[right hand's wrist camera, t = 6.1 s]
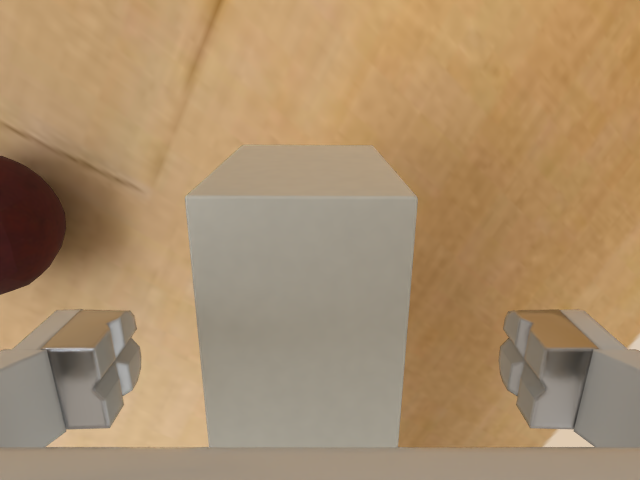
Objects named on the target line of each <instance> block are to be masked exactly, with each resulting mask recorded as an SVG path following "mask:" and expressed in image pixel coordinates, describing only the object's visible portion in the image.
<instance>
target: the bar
mask: <svg viewBox="0 0 640 480" xmlns="http://www.w3.org/2000/svg"><path fill="white" fill-rule="evenodd" d="M417 203H418V198H417V196H416V195H415V194H414V193H413V191H412V190H411V189H410V188H409V187H408V186H407V185H406V183H405V182H404V181H403V180H402V179H401V178H400V176H399V175H398V174H397V173H396V172H395V171H394V169H393V168H392V167H391V166H390V165H389V164H388V163H387V161H386V160H385V159H384V158H383V157H382V156H381V154H380V153H379V152H378V151H377V150H376V149H375V148H374V146H372V145H242V146H241V147H240V148H238V149H237V150H236V151H235V152H234V153H233V154H232V155H231V156H230V157H228V158H227V159H226V160H225V161H224V162H223V163H222V164H221V165H220V166H218V167H217V168H216V169H215V170H214V171H213V172H212V173H211V174H210V175H208V176H207V177H206V178H205V179H204V180H203V181H202V182H201V183H200V184H198V185H197V186H196V187H195V188H194V189H193V190H192V191H191V192H190V193H188V194H187V195H186V197H185V204H186V214H187V224H188V235H189V245H190V255H191V266H192V276H193V286H194V297H195V307H196V317H197V328H198V338H199V348H200V358H201V369H202V379H203V389H204V400H205V410H206V420H207V431H208V441H209V447H398V440H399V427H400V415H401V403H402V390H403V378H404V365H405V353H406V340H407V328H408V315H409V303H410V290H411V278H412V266H413V253H414V241H415V228H416V216H417Z"/></svg>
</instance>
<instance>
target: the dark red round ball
mask: <svg viewBox="0 0 640 480" xmlns="http://www.w3.org/2000/svg"><path fill="white" fill-rule="evenodd" d="M65 230H66V221H65V213H64V210H63V208H62V206H61V203H60V201H59V199H58V197H57V196H56V194H55V193H54V192H53V190H52V189H51V187H50V186H49V185H48V184H47V183H46V182H45V181H44V180H43V179H42V178H41V177H40V176H39V175H37V174H36V173H35V172H33V171H32V170H30V169H29V168H28V167H26V166H24V165H22V164H20V163H18V162H16V161H13V160H11V159H8V158H6V157H3V156H0V294H3V293H7V292H10V291H13V290H15V289H18V288H21V287H24V286H26V285H29V284H30V283H31V282H33V281H34V280H35V279H36V278H38V277H39V276H40V275H41V274H42V273H43V272H44V271H45V270H46V269H47V268H48V267H49V266H50V265H51V263H52V261H53V260H54V258H55V256H56V255H57V253H58V251H59V250H60V248H61V246H62V242H63V238H64V234H65Z"/></svg>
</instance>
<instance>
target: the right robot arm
mask: <svg viewBox="0 0 640 480" xmlns="http://www.w3.org/2000/svg"><path fill="white" fill-rule="evenodd" d="M136 330H137V327H136V322H135V317H134V315H133V314H132V312H131V311H127V310H83V309H72V310H56V311H55V312H54V313H53V314H52V315H51V316H49V317H48V318H47V319H46V320H45V321H44V322H43V323H41V324H40V325H39V326H38V327H37V328H36V329H35V330H34V331H32V332H31V333H30V334H29V335H28V336H27V337H26V338H24V339H23V340H22V341H21V342H20V343H19V344H18V345H17V346H15V347H14V348H13V349H8V350H2V351H0V480H640V351H638V350H631V349H627V348H626V347H625V346H624V345H622V344H621V343H620V342H619V341H618V340H617V339H616V338H614V337H613V336H612V335H611V334H610V333H609V332H608V331H607V330H605V329H604V328H603V327H602V326H601V325H600V324H599V323H597V322H596V321H595V320H594V319H593V318H592V317H591V316H590V315H588V314H587V313H586V312H585V311H583V310H579V309H569V310H521V311H509V312H508V313H507V315H506V317H505V321H504V327H503V330H504V331H505V333H506V334H507V336H508V337H509V338H508V339H507V340H506V341H505V342H504V343H503V345H502V346H501V347H500V353H499V369H500V375H501V378H502V381H503V383H504V385H505V387H506V388H507V390H508V391H510V392H511V393H513V394H515V395H516V396H518V397H517V403H516V405H517V407H518V409H519V410H520V412H521V413H522V415H523V417H524V418H525V420H526V422H527V423H528V425H529V427H530V428H546V429H574V432H576V433H577V434H578V435H580V436H581V437H582V438H584V439H585V440H586V441H588V442H589V443H590V444H592V445H593V446H594V447H46V446H47V445H48V444H50V443H51V442H52V441H54V440H55V439H57V438H58V437H59V436H61V435H62V434H63V433H65V432H66V429H93V428H110V427H111V425H112V423H113V422H114V420H115V418H116V417H117V415H118V413H119V412H120V410H121V409H122V407H123V405H124V403H123V397H122V396H124V395H125V394H127V393H129V392H130V391H132V390H133V388H134V386H135V385H136V383H137V381H138V378H139V374H140V370H141V352H140V347H139V346H138V345H137V343H136V342H135V341H134V340H133V339H132V338H131V337H132V336H133V334H134V333H135V331H136Z"/></svg>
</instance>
